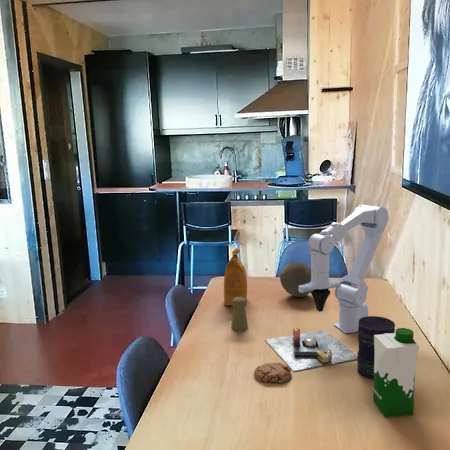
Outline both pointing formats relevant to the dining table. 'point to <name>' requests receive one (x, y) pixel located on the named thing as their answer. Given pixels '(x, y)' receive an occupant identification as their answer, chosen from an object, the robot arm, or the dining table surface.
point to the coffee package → (234, 279)
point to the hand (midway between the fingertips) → (319, 310)
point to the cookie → (273, 372)
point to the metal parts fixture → (312, 351)
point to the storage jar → (370, 342)
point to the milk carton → (395, 372)
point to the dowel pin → (329, 354)
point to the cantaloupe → (295, 278)
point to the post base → (303, 362)
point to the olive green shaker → (239, 314)
